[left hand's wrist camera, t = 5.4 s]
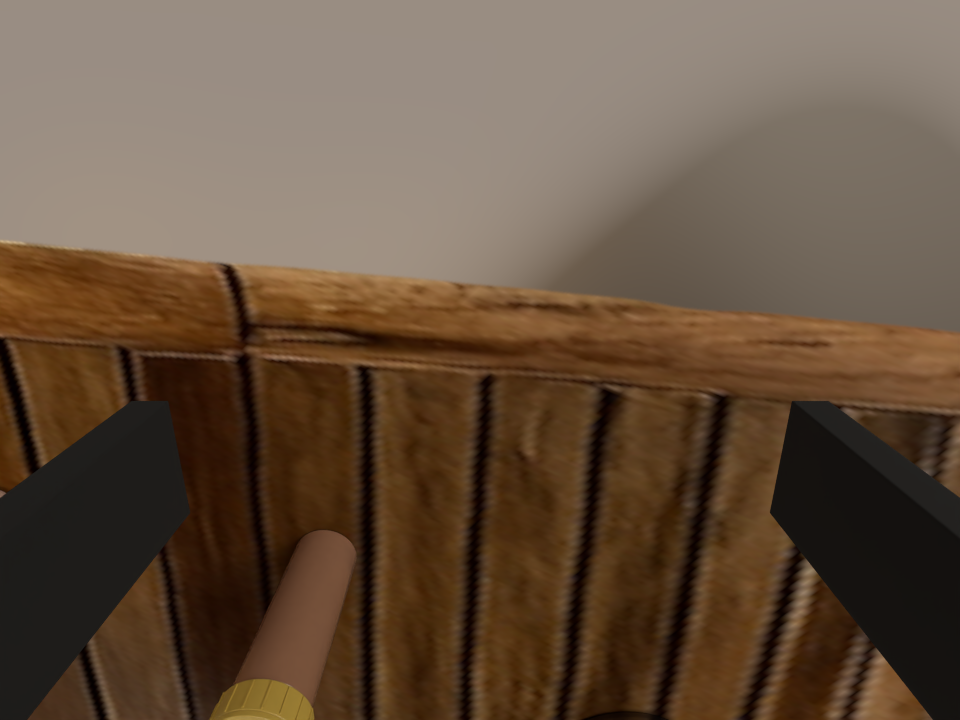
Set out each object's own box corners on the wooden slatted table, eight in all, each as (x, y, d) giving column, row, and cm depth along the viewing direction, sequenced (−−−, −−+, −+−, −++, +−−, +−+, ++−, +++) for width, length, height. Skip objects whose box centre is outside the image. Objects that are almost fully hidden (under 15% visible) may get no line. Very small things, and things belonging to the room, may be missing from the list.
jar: (283, 557, 48) (192, 748, 32) (319, 518, 46) (241, 698, 31) (332, 589, 49) (266, 788, 34) (369, 552, 47) (317, 742, 32)
